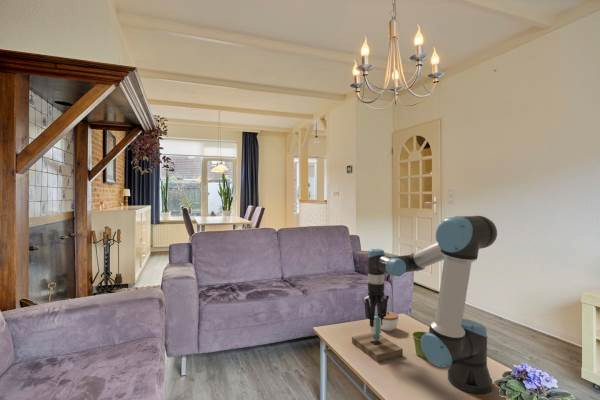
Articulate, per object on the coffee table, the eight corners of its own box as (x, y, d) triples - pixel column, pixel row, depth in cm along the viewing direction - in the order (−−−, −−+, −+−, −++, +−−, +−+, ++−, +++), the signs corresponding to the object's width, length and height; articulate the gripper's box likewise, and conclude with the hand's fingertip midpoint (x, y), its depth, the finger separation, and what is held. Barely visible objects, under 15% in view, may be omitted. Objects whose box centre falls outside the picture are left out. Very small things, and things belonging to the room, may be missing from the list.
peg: (380, 339, 152) (380, 317, 152) (375, 340, 150) (375, 318, 150) (376, 336, 154) (376, 315, 154) (371, 337, 153) (371, 316, 153)
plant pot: (436, 360, 141) (436, 340, 141) (413, 358, 143) (413, 339, 143) (432, 350, 150) (432, 332, 150) (410, 349, 152) (410, 330, 152)
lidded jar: (399, 333, 170) (399, 315, 170) (378, 332, 171) (378, 314, 171) (396, 325, 180) (396, 308, 180) (376, 324, 182) (376, 307, 182)
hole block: (402, 355, 146) (402, 348, 146) (376, 361, 140) (376, 354, 140) (375, 338, 164) (375, 332, 164) (351, 342, 159) (351, 336, 159)
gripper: (384, 278, 159) (384, 327, 159) (357, 282, 153) (357, 332, 153) (394, 282, 152) (394, 333, 152) (366, 286, 146) (366, 338, 146)
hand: (376, 332), depth 152 cm, fingers closed on peg, 2 cm apart
